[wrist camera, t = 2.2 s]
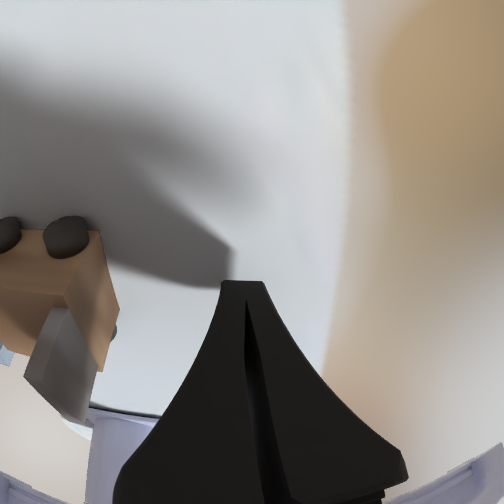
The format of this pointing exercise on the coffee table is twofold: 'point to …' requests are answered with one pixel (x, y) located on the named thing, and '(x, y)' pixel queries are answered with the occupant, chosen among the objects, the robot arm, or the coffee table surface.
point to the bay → (5, 355)
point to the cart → (57, 308)
